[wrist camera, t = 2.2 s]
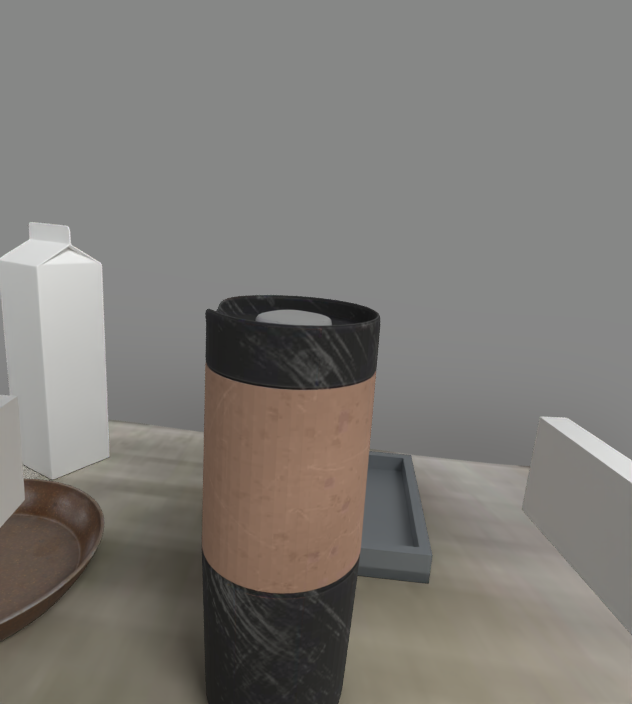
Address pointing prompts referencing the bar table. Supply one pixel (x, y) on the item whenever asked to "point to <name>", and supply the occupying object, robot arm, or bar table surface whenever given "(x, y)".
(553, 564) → the bar table surface
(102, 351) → the milk
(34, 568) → the plant saucer
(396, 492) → the tray
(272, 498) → the travel mug
